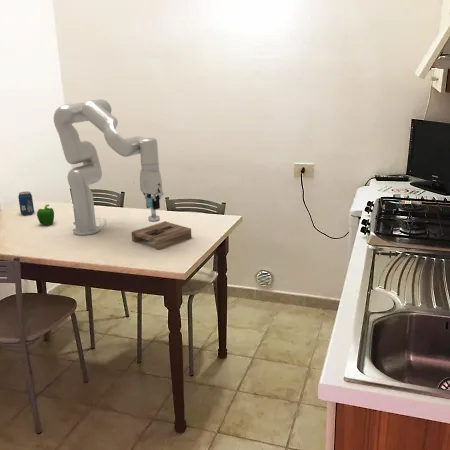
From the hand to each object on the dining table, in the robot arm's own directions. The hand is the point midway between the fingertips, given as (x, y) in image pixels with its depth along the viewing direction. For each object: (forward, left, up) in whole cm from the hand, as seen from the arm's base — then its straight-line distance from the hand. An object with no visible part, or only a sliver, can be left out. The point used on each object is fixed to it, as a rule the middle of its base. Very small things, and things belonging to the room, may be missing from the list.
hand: (153, 207), depth 223 cm
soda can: (-90, -14, -16) cm, 93 cm away
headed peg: (0, 0, -6) cm, 6 cm away
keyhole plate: (0, +4, -16) cm, 16 cm away
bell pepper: (-64, -17, -16) cm, 68 cm away
